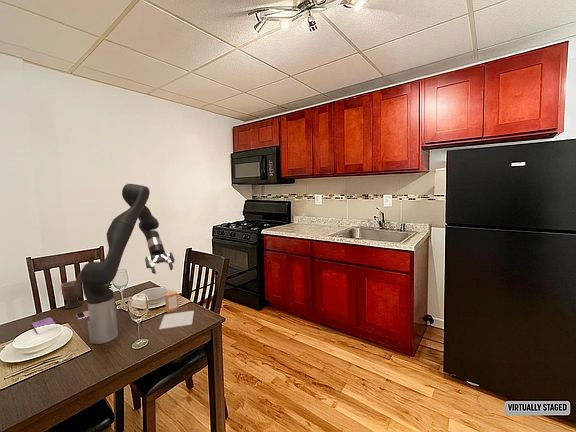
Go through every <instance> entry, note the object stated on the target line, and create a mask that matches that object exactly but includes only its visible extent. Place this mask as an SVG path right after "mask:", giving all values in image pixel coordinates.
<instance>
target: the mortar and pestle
mask: <svg viewBox="0 0 576 432" xmlns="http://www.w3.org/2000/svg"><path fill="white" fill-rule="evenodd" d="M81 272H82V269H81V270H80V271H79V274H78V275H77V277H76V279H75V280H72V281H66V282H63V283H62V284H60V289H61V295H62V298H63V299H64V300H65V301H67V302H66V304H65V305H64V309H65V308H72V309H75V307H76V308H79V307H80V306H82V304H83V303H82V301H81V300H79V298H80V297H81V295H82V290H83V287H82V281H81ZM72 304H73V305H72Z"/></svg>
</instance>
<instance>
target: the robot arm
mask: <svg viewBox="0 0 576 432" xmlns="http://www.w3.org/2000/svg"><path fill="white" fill-rule="evenodd" d="M121 190H122V191H121V195H122V199H123V201H124V202H125V203H126V204H127V205H128V206H129V208H128V209H126V210H125V211H123V212H121V213H120V214H119V215H117V216H115V218H113V220H112V221H111V223H110V225H109V226H108V229H107V231H106V240H107V241H106V242H107V244H108V245H107V246H108V252H107V254H106V257H105V259H104V261H89V262H87V263H85V265H84V266H83V267H82V269H81V270H82V272H81V271H80V272H81V280H80V281H81V287H82V290H83V295H84V297H85V299H86V302H87V309H88V310H89V317H88V318H89V320H88V321H87V329H88V337H89V344H95V345H99V344H105V343H109V342H111V341H113V340H114V339H116V338H117V337H118V336H119V329H118V321H117V311H116V303H115V301H116V300H115V293H114V290H113V289H111V288H109V287H107V286H106V285H109V284H111V283H112V282H113V281H114V279H115V278H116V275H117V274H118V270H119V266H120V264H121V261H122V258H123V256H124V255H123V254H124V252H125V249H126V248H127V244H128V242H129V240H130V238H131V237H132V234H133V231H134V228H135V227H136V223H137V221H139V223H138V228H139V230H140V231H141V233H142V234H143V235H144V237H145V240H146V243H147V249H148V252H149V255H150V256H145V259H144V261H145V266H146V269H150V270H151V273H152V274H153V275H156V273H157V271H156V268H155V265H156V264H160V263H161V264H162V263H165V264H168V268H169V270H170V271H173V268H174V265H173V264H174V263H175V261H176V260H175V258H174V255H173V253H172V252H169V253H166V249H165V248H164V244H163V242H162V239H161V237H160V234H159V232H158V231H157V229H158V228H159V226H160V223H159V221H158V219H157V218H156V217H154V216H153V214H152V212H151V210H150V208H149V207H148V206H147V205H146V204H147V202H148V200H149V197H150V194H151V193H150V187H148V186H146V185H141V184H135V183H126V184H125V185H123V187H122V189H121ZM150 261H152V263H151V264H150ZM88 310H87V311H88Z"/></svg>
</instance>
